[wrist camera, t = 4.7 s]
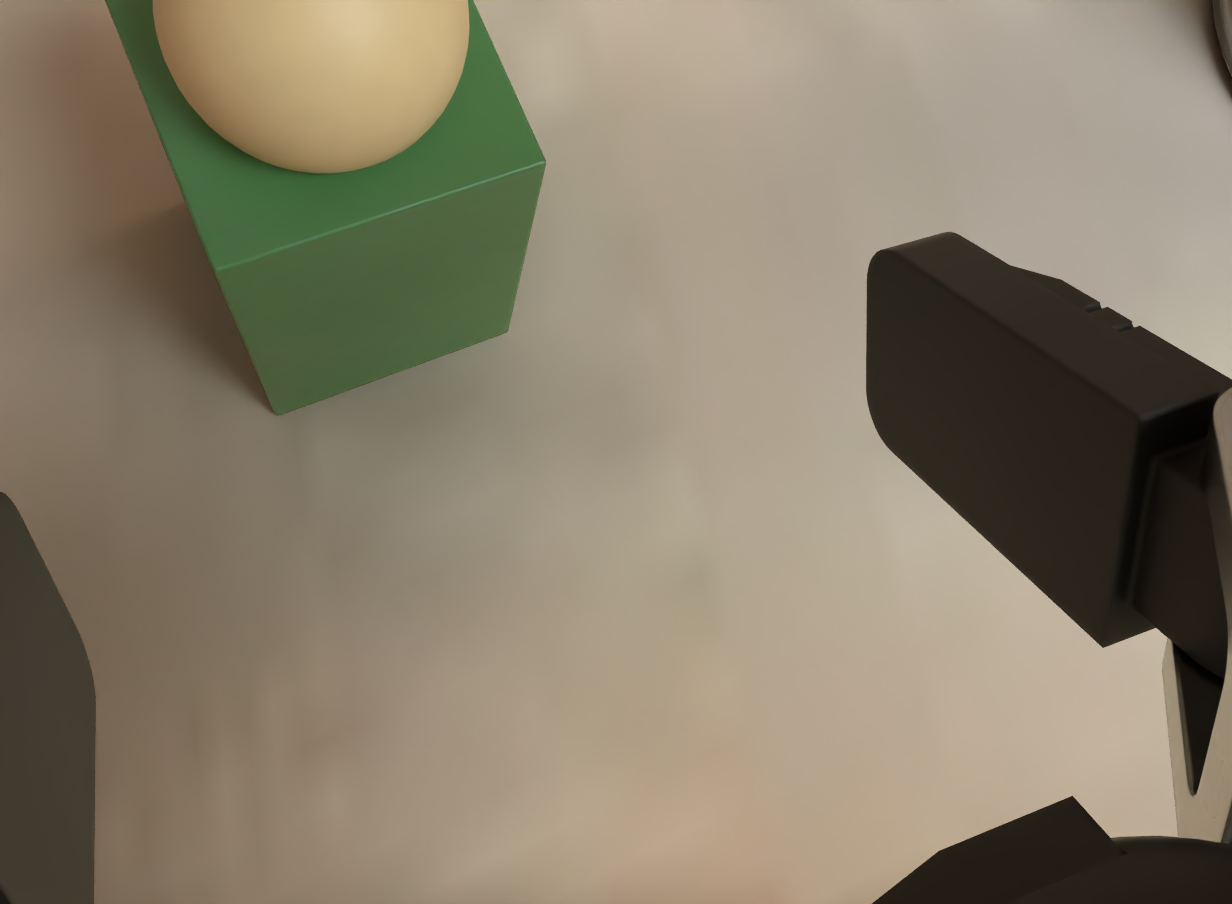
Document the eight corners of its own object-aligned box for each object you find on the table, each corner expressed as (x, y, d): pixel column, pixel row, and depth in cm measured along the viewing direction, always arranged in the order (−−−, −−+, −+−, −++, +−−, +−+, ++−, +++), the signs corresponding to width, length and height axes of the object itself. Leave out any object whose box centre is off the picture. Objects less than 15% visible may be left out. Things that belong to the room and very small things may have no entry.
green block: (418, 125, 23) (420, -299, 14) (508, 332, 23) (577, 36, 13) (188, 197, 22) (17, -211, 13) (276, 417, 22) (164, 162, 12)
